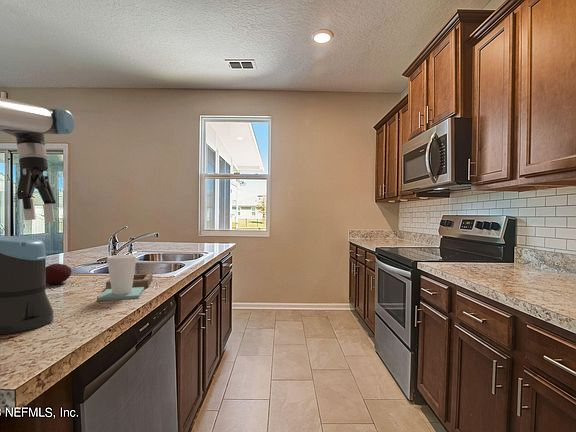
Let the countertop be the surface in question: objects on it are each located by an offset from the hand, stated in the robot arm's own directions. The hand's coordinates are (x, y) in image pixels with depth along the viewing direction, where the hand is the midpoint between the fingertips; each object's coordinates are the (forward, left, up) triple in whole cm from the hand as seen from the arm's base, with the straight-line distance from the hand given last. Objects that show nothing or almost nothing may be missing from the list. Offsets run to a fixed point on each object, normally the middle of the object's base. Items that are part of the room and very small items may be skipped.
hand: (40, 221), depth 108 cm
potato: (+30, +6, -27) cm, 41 cm away
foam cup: (+3, -24, -26) cm, 36 cm away
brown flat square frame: (+20, -24, -27) cm, 41 cm away
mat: (+3, -24, -27) cm, 36 cm away
